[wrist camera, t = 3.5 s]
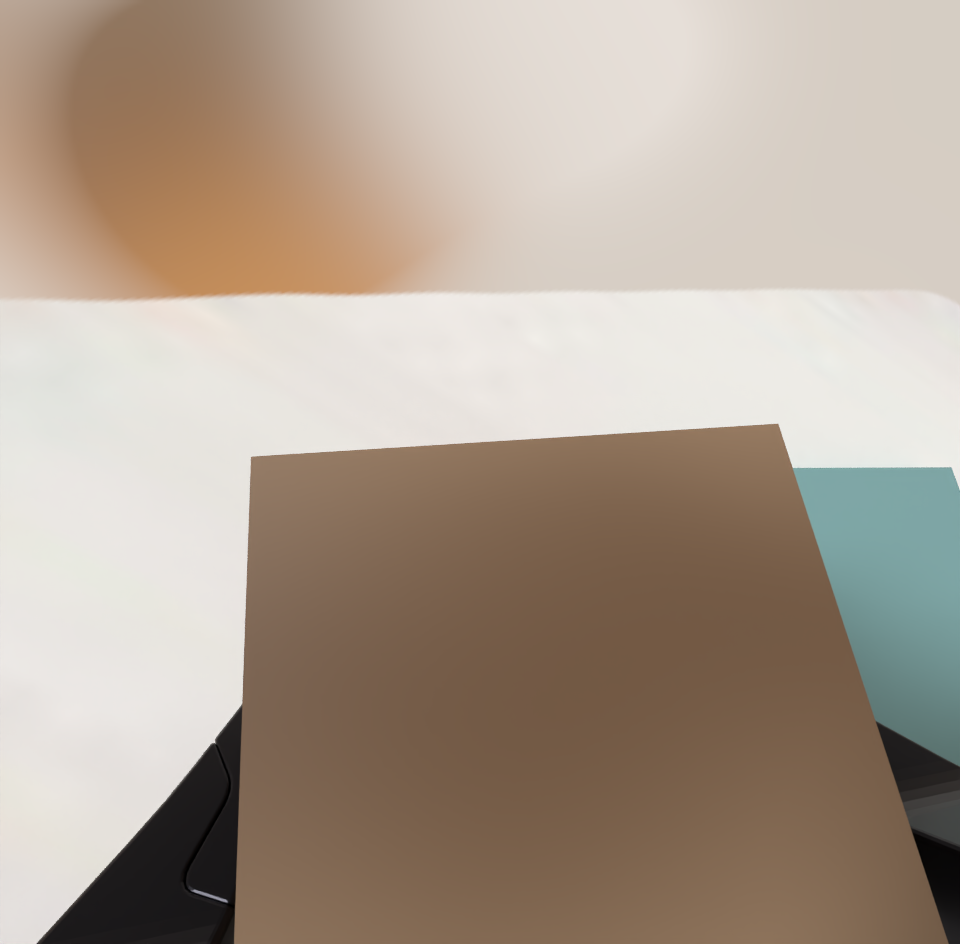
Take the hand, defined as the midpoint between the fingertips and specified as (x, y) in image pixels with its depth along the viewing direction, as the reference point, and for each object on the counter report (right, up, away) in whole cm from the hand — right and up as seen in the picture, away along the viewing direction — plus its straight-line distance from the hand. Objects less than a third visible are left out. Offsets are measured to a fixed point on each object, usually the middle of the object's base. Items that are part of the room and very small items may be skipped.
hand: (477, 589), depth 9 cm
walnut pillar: (-1, -3, +6) cm, 7 cm away
